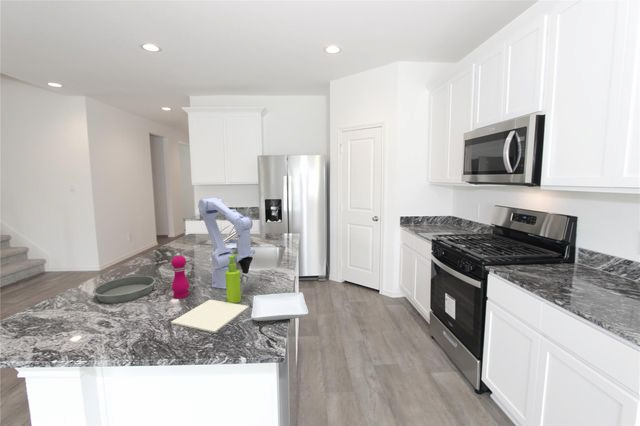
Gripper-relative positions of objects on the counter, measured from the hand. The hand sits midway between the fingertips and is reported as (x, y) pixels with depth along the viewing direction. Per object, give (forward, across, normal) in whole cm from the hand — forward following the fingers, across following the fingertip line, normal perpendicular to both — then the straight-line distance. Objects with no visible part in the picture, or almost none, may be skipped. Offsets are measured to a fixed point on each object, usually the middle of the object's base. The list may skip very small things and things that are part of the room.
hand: (245, 273), depth 139 cm
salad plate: (+10, -11, -23) cm, 27 cm away
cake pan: (+10, -19, +53) cm, 57 cm away
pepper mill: (+10, -13, +26) cm, 31 cm away
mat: (+9, -23, 0) cm, 25 cm away
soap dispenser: (+10, -9, 0) cm, 13 cm away
